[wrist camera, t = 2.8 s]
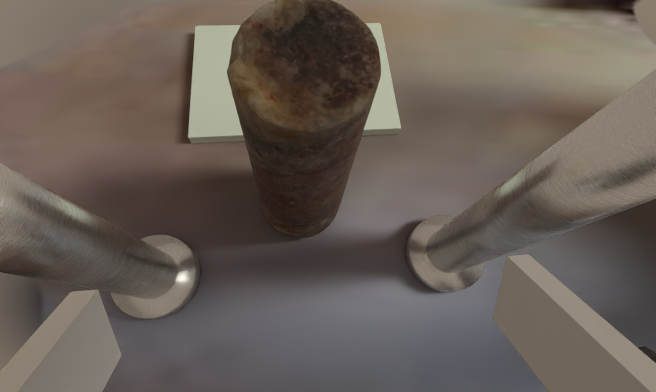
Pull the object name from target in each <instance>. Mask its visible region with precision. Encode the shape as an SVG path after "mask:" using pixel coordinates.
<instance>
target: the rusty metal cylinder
mask: <svg viewBox="0 0 656 392" xmlns="http://www.w3.org/2000/svg"><path fill="white" fill-rule="evenodd" d="M227 76H228V80H229V83H230V87H231V91H232V96H233V99H234V102H235V106H236V110H237V114H238V117H239V121H240V125H241V129H242V132H243V136H244V139H245V143H246V147H247V150H248V153H249V157H250V161H251V166H252V169H253V172H254V176H255V180H256V184H257V188H258V192H259V197H260V201H261V204H262V208H263V212H264V215H265V217H266V219H267V221H268V222H269V223H270V224H271V225H272V226H273V227H274V228H275V229H276V230H278V231H280V232H282V233H285V234H287V235H290V236H296V237H310V236H313V235H315V234H318V233H320V232H321V231H323V230H324V229H325V228H326V227H328V226H329V225H330V223H331V222H332V221H333V219H334V218H335V216H336V214H337V211H338V208H339V205H340V203H341V200H342V197H343V193H344V190H345V187H346V184H347V180H348V177H349V173H350V170H351V167H352V164H353V161H354V158H355V154H356V151H357V149H358V146H359V143H360V140H361V137H362V133H363V130H364V127H365V124H366V121H367V118H368V115H369V112H370V109H371V106H372V103H373V99H374V97H375V93H376V90H377V87H378V84H379V81H380V77H381V62H380V54H379V48H378V45H377V41H376V39H375V37H374V35H373V33H372V31H371V29H370V28H369V27H368V26H367V24H365V23H364V22H363V21H362V20H360V19H359V18H358V17H357V16H356V15H355V14H354V13H353V12H351V11H350V10H348V9H346V8H345V7H344V6H342V5H341V4H338V3H336V2H334V1H331V0H275V1H273V2H270V3H268V4H266V5H264V6H262V7H261V8H259V9H258V10H256V11H255V13H254V14H253V15H252V16H251V17H249V18H248V19H247V20H246V21H245V22H243V23H242V25H241V26H240V28H239V30H238V32H237V34H236V35H235V37H234V39H233V41H232V47H231V55H230V61H229V66H228V69H227Z"/></svg>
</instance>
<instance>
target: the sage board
mask: <svg viewBox="0 0 656 392" xmlns="http://www.w3.org/2000/svg"><path fill="white" fill-rule="evenodd" d="M365 24H367V26H368V27H369V28H370V29H371V31H372V33H373V35H374V37H375V39H376V41H377V45H378V48H379V54H380V62H381V77H380V81H379V84H378V87H377V90H376V93H375V97H374V99H373V103H372V106H371V109H370V112H369V115H368V118H367V121H366V124H365V127H364V130H363V133H362V136H369V135H391V134H398V133H399V131H400V129H401V125H400V120H399V115H398V110H397V105H396V100H395V95H394V90H393V84H392V79H391V74H390V69H389V64H388V59H387V54H386V49H385V43H384V38H383V33H382V28H381V23H365ZM240 26H241V25H227V26H196V27H195V42H194V56H193V71H192V86H191V101H190V116H189V131H188V138H189V140H190V142H191V143H192V144H195V143H217V142H239V141H245V139H244V136H243V132H242V129H241V125H240V121H239V117H238V114H237V110H236V106H235V102H234V99H233V96H232V91H231V87H230V83H229V80H228V76H227V69H228V66H229V61H230V55H231V47H232V41H233V39H234V37H235V35H236V34H237V32H238V30H239V28H240Z"/></svg>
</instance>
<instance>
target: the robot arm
mask: <svg viewBox="0 0 656 392" xmlns="http://www.w3.org/2000/svg"><path fill="white" fill-rule="evenodd" d="M493 320H494V321H495V322H496V324H497V325H498V326H499V328H500V329H501V330H502V331H503V333H504V334H505V335H506V337H507V338H508V339H509V341H510V342H511V343H512V345H513V346H514V347H515V349H516V350H517V351H518V353H519V354H520V355H521V357H522V358H523V359H524V360H525V362H526V363H527V364H528V366H529V367H530V368H531V370H532V371H533V372H534V374H535V375H536V376H537V378H538V379H539V380H540V382H541V383H542V384H543V386H544V387H545V388H546V389H547V391H548V392H656V353H655V352H654V351H652V350H650V349H648V348H647V347H636V346H635V345H634V344H633V343H631V342H630V341H629V340H628V339H627V338H626V337H624V336H623V335H622V334H621V333H620V332H619V331H617V330H616V329H615V328H614V327H613V326H612V325H610V324H609V323H608V322H607V321H606V320H605V319H603V318H602V317H601V316H600V315H599V314H598V313H596V312H595V311H594V310H593V309H592V308H591V307H589V306H588V305H587V304H586V303H585V302H584V301H582V300H581V299H580V298H579V297H578V296H577V295H575V294H574V293H573V292H572V291H571V290H570V289H568V288H567V287H566V286H565V285H564V284H563V283H561V282H560V281H559V280H558V279H557V278H556V277H554V276H553V275H552V274H551V273H550V272H549V271H547V270H546V269H545V268H544V267H543V266H542V265H540V264H539V263H538V262H537V261H536V260H535V259H533V258H532V257H531V256H530V255H529V254H527V255H515V256H507V260H506V264H505V268H504V273H503V277H502V281H501V286H500V290H499V294H498V299H497V303H496V307H495V312H494V316H493ZM121 356H122V355H121V352H120V349H119V346H118V344H117V341H116V338H115V335H114V333H113V330H112V327H111V324H110V322H109V319H108V316H107V313H106V311H105V308H104V305H103V302H102V300H101V297H100V294H99V291H98V290H85V291H73V292H70V293H69V294H68V295H67V297H66V298H65V299H64V300H63V301H62V302H61V303H60V304H59V306H58V307H57V308H56V309H55V310H54V311H53V312H52V313H51V315H50V316H49V317H48V318H47V319H46V320H45V321H44V322H43V324H42V325H41V326H40V327H39V328H38V329H37V330H36V331H35V333H34V334H33V335H32V336H31V337H30V338H29V339H28V341H27V342H26V343H25V344H24V345H23V346H22V347H21V348H20V349H19V351H18V352H17V353H16V354H15V355H14V356H13V357H12V359H11V360H10V361H9V362H8V363H7V364H6V365H5V366H4V368H3V369H2V370H1V371H0V392H102V391H103V390H104V388H105V386H106V384H107V382H108V380H109V378H110V377H111V375H112V373H113V371H114V369H115V367H116V365H117V364H118V362H119V360H120V358H121Z"/></svg>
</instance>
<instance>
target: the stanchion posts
mask: <svg viewBox="0 0 656 392" xmlns="http://www.w3.org/2000/svg"><path fill="white" fill-rule="evenodd" d="M654 199H656V69H655V70H654V71H652V72H651V73H650V74H648V75H647V76H646V77H644V78H643V79H642V80H640V81H639V82H638V83H636V84H635V85H634V86H632V87H631V88H629V89H628V90H627V91H625V92H624V93H623V94H621V95H620V96H619V97H617V98H616V99H615V100H613V101H612V102H611V103H609V104H608V105H607V106H605V107H604V108H603V109H601V110H600V111H598V112H597V113H596V114H594V115H593V116H592V117H590V118H589V119H588V120H586V121H585V122H584V123H582V124H581V125H580V126H578V127H577V128H576V129H574V130H573V131H571V132H570V133H569V134H567V135H566V136H565V137H563V138H562V139H561V140H559V141H558V142H557V143H555V144H554V145H553V146H551V147H550V148H549V149H547V150H546V151H545V152H543V153H542V154H540V155H539V156H538V157H536V158H535V159H534V160H532V161H531V162H530V163H528V164H527V165H526V166H524V167H523V168H522V169H520V170H519V171H518V172H516V173H515V174H514V175H512V176H511V177H509V178H508V179H507V180H505V181H504V182H503V183H501V184H500V185H499V186H497V187H496V188H495V189H493V190H492V191H491V192H489V193H488V194H487V195H485V196H484V197H482V198H481V199H480V200H478V201H477V202H476V203H474V204H473V205H472V206H470V207H469V208H468V209H466V210H465V211H464V212H462V213H461V214H460V215H458V216H457V217H456V218H455V217H452V216H446V215H438V216H433V217H430V218H428V219H426V220H424V221H423V222H421V223H420V224H419V225H418V226H417V227H416V228H415V229H414V230H413V231H412V232H411V234H410V235H409V237H408V240H407V243H406V259H407V263H408V266H409V268H410V270H411V272H412V273H413V275H414V276H415V277H416V278H417V280H418V281H420V282H421V283H422V284H423V285H425V286H426V287H428V288H430V289H432V290H435V291H438V292H454V291H458V290H462V289H465V288H468V287H470V286H471V285H473V284H474V283H475V282H476V281H477V280H478V279H479V277H480V276H481V274H482V272H483V269H484V265H485V262H487V261H489V260H492V259H495V258H497V257H500V256H503V255H506V254H508V253H511V252H514V251H516V250H519V249H522V248H524V247H527V246H530V245H532V244H535V243H538V242H541V241H543V240H546V239H549V238H551V237H554V236H557V235H559V234H562V233H565V232H567V231H570V230H573V229H576V228H578V227H581V226H584V225H586V224H589V223H592V222H594V221H597V220H600V219H602V218H605V217H608V216H611V215H613V214H616V213H619V212H621V211H624V210H627V209H629V208H632V207H635V206H637V205H640V204H643V203H646V202H648V201H651V200H654ZM0 272H3V273H9V274H14V275H19V276H24V277H29V278H35V279H40V280H46V281H51V282H56V283H62V284H67V285H72V286H78V287H83V288H89V289H94V290H99V291H105V292H110V293H111V296H112V298H113V300H114V302H115V304H116V305H117V306H118V308H119V309H121V310H122V311H123V312H124V313H126V314H128V315H130V316H133V317H136V318H143V319H159V318H164V317H167V316H170V315H172V314H174V313H176V312H178V311H179V310H181V309H182V308H183V307H184V306H185V305H186V304H187V303H188V302H189V301H190V300H191V299H192V297H193V296H194V294H195V292H196V290H197V288H198V285H199V282H200V275H201V269H200V263H199V260H198V258H197V256H196V254H195V253H194V251H193V250H192V249H191V248H190V247H189V246H188V245H186V244H185V243H183V242H182V241H180V240H179V239H177V238H175V237H172V236H168V235H151V236H147V237H144V238H142V239H139V238H137V237H136V236H134V235H132V234H130V233H128V232H126V231H124V230H123V229H121V228H119V227H117V226H115V225H113V224H112V223H110V222H108V221H106V220H104V219H102V218H101V217H99V216H97V215H95V214H93V213H91V212H90V211H88V210H86V209H84V208H82V207H80V206H78V205H77V204H75V203H73V202H71V201H69V200H67V199H66V198H64V197H62V196H60V195H58V194H56V193H55V192H53V191H51V190H49V189H47V188H45V187H43V186H42V185H40V184H38V183H36V182H34V181H32V180H31V179H29V178H27V177H25V176H23V175H21V174H20V173H18V172H16V171H14V170H12V169H10V168H9V167H7V166H5V165H3V164H1V163H0Z"/></svg>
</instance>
